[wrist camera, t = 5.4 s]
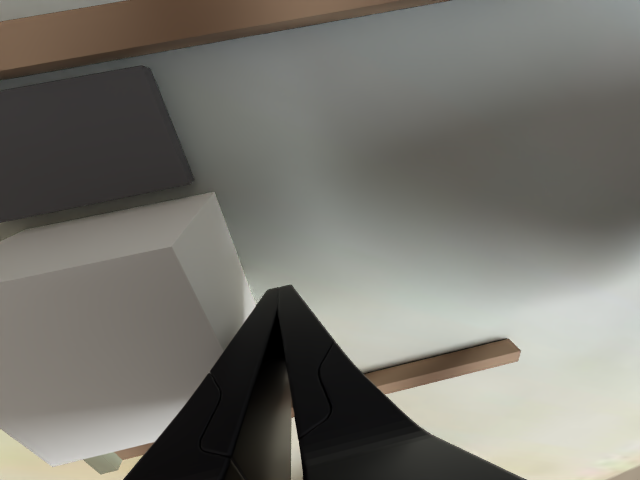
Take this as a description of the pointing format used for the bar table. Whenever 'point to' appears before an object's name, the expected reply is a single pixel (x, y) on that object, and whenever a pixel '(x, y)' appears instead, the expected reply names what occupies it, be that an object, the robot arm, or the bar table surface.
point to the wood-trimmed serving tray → (191, 30)
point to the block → (114, 324)
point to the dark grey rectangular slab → (86, 143)
